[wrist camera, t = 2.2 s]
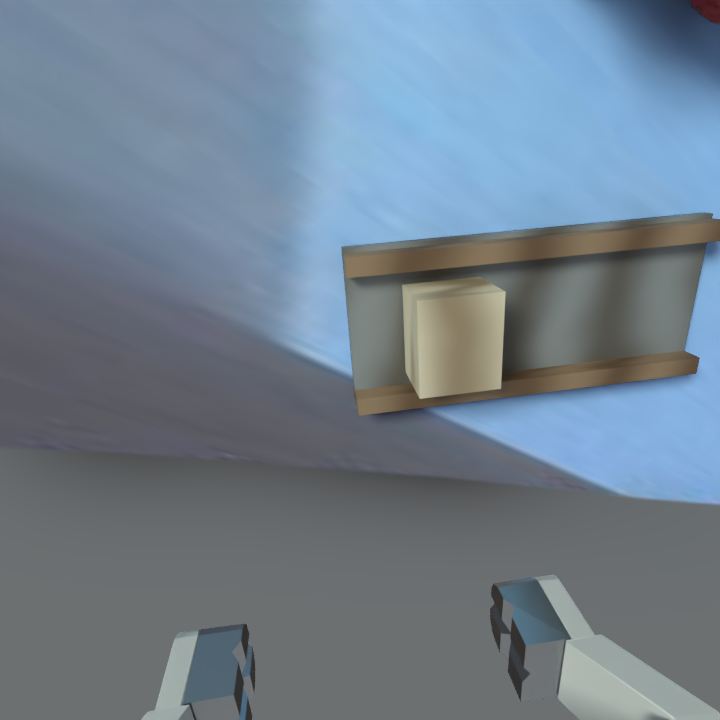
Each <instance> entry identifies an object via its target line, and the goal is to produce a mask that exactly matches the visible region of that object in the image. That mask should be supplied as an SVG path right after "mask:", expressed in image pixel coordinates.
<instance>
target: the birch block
mask: <svg viewBox="0 0 720 720" xmlns="http://www.w3.org/2000/svg"><path fill="white" fill-rule="evenodd" d="M402 294H403V319H404V344H405V369H406V374H407V376H408V378H409V379H410V381H411V383H412V385H413V387H414V389H415V391H416V393H417V395H418V397H419V398H420V399H423V398H431V397H439V396H447V395H455V394H464V393H472V392H480V391H488V390H496V389H501V378H502V357H503V336H504V315H505V295H506V291H504V290H502V289H500V288H499V287H497V286H495V285H493V284H492V283H490V282H488V281H486V280H485V279H483V278H481V277H471V278H462V279H452V280H442V281H432V282H422V283H413V284H403V285H402Z"/></svg>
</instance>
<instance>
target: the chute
mask: <svg viewBox="0 0 720 720" xmlns="http://www.w3.org/2000/svg"><path fill="white" fill-rule="evenodd" d="M712 216H713V214H711V213H694V214H684V215H673V216H662V217H652V218H641V219H631V220H620V221H610V222H599V223H588V224H578V225H567V226H557V227H546V228H535V229H525V230H514V231H504V232H493V233H483V234H472V235H461V236H451V237H440V238H430V239H419V240H409V241H398V242H387V243H377V244H366V245H356V246H345V247H342V258H343V270H344V281H345V292H346V303H347V315H348V326H349V337H350V349H351V360H352V371H353V383H354V394H355V405H356V409H357V411H358V415H359V416H361V415H369V414H377V413H385V412H393V411H401V410H409V409H417V408H425V407H433V406H441V405H449V404H457V403H465V402H473V401H481V400H489V399H497V398H505V397H513V396H521V395H529V394H537V393H545V392H553V391H561V390H569V389H577V388H585V387H593V386H601V385H609V384H617V383H625V382H633V381H641V380H649V379H657V378H665V377H673V376H681V375H689V374H696V372H697V367H698V363H699V357H697V356H695V355H692V354H690V353H688V352H686V351H684V349H685V344H686V339H687V335H688V330H689V325H690V320H691V316H692V311H693V306H694V301H695V297H696V292H697V287H698V282H699V278H700V273H701V268H702V263H703V259H704V254H705V249H706V244H707V242H715V241H720V219H712ZM471 277H481V278H483V279H485V280H486V281H488V282H490V283H492V284H493V285H495V286H497V287H499V288H500V289H502V290H504V291H506V295H505V315H504V336H503V357H502V378H501V389H496V390H488V391H480V392H472V393H464V394H455V395H447V396H439V397H431V398H423V399H420V398H419V397H418V395H417V393H416V391H415V389H414V387H413V385H412V383H411V381H410V379H409V378H408V376H407V374H406V369H405V344H404V319H403V294H402V285H403V284H413V283H422V282H432V281H442V280H452V279H462V278H471Z"/></svg>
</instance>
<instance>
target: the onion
mask: <svg viewBox="0 0 720 720" xmlns="http://www.w3.org/2000/svg"><path fill="white" fill-rule="evenodd" d="M689 1H690V4H691V6H692V7H693V8H694V9H695V10H696V11H698V12H699V13H700V14H701V15H702V16H704V17H705V18H706V19H708V20H709V21H711V22H714V23H718V24H720V0H689Z"/></svg>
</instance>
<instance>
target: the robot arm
mask: <svg viewBox="0 0 720 720" xmlns="http://www.w3.org/2000/svg"><path fill="white" fill-rule="evenodd" d="M491 596H492V598H493V601H494V603H495V604H494V605H493V606H492V607H491V609H490V620H491V626H492V632H493V635H494V638H495V642H496V644H497V647H498V649H499V652H500V653H501V654H502V655H504V656H505V657H506V658H507V659H509V662H508V673H509V676H510V678H511V680H512V683H513V685H514V687H515V690H516V692H517V694H518V697H519V699H520V701H521V702H523V701H530V700H537V699H544V698H550V697H557V696H558V699H559V700H560V701H561V702H562V703H563V704H564V705H565V706H566V707H567V708H568V709H569V710H570V711H571V712H572V713H574V715H576V717H578V718H579V719H580V720H720V713H719V712H718V711H716V710H715V709H713V708H712V707H710V706H709V705H707V704H706V703H704V702H703V701H701V700H700V699H698V698H697V697H695V696H694V695H692V694H691V693H689V692H688V691H686V690H685V689H683V688H682V687H680V686H679V685H677V684H676V683H674V682H673V681H671V680H670V679H668V678H667V677H665V676H664V675H662V674H661V673H659V672H658V671H656V670H655V669H653V668H652V667H650V666H649V665H647V664H646V663H644V662H643V661H641V660H640V659H638V658H637V657H635V656H633V655H632V654H631V653H629V652H628V651H626V650H624V649H623V648H621V647H620V646H618V645H617V644H615V643H614V642H612V641H611V640H609V639H608V638H606V637H605V636H603V635H595V634H594V632H593V631H592V629H591V627H590V626H589V624H588V623H587V621H586V620H585V618H584V617H583V615H582V614H581V612H580V610H579V609H578V608H577V606H576V604H575V603H574V602H573V600H572V598H571V597H570V595H569V593H568V592H567V590H566V589H565V587H564V586H563V584H562V583H561V581H560V580H559V578H558V577H557V576H556V575H554V574H551V575H545V576H539V577H533V578H532V577H529V578H524V579H518V580H512V581H507V582H501V583H495V584H493V586H492V588H491ZM248 641H249V631H248V627H247V624H239V625H231V626H224V627H216V628H209V629H201V630H194V631H187V632H180V633H178V634H177V636H176V638H175V640H174V643H173V646H172V649H171V653H170V657H169V660H168V664H167V668H166V671H165V675H164V679H163V683H162V686H161V690H160V693H159V697H158V701H157V704H156V708H155V710H153V711H148V712H147V713H146V715H144V717H143V718H142V719H141V720H252V712H251V709H250V704H249V701H250V700H251V698H252V697H253V695H254V692H255V658H254V652H253V648H252V647H251V646H250V645H249V644H248Z"/></svg>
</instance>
